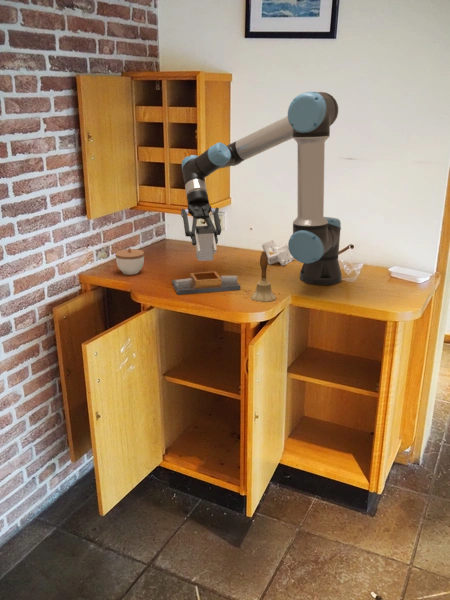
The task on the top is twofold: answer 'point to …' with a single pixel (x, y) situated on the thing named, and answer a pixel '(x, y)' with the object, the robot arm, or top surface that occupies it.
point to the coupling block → (205, 242)
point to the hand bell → (263, 283)
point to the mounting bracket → (277, 253)
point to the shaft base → (205, 283)
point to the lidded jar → (130, 260)
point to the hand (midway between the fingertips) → (206, 252)
